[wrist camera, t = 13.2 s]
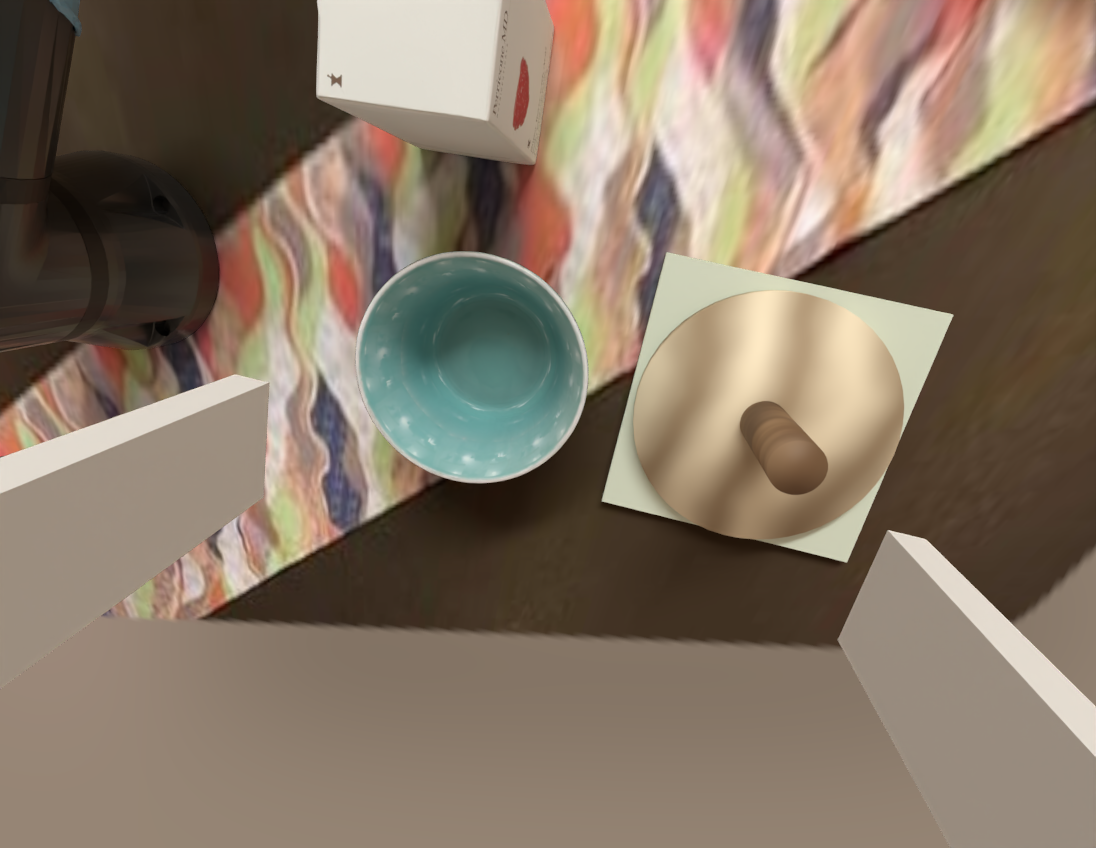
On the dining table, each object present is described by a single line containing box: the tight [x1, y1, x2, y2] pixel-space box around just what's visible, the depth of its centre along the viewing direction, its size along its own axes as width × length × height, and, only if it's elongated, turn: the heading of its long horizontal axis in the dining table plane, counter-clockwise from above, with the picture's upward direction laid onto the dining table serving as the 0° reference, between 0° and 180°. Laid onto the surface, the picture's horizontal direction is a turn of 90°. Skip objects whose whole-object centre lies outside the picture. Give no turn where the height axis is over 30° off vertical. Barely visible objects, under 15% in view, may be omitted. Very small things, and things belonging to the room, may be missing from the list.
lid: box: [633, 290, 904, 539], centre depth 39 cm, size 19×19×10 cm
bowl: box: [355, 251, 588, 483], centre depth 42 cm, size 16×16×8 cm
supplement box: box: [316, 0, 554, 165], centre depth 33 cm, size 9×9×15 cm
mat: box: [602, 252, 953, 562], centre depth 44 cm, size 20×20×1 cm
